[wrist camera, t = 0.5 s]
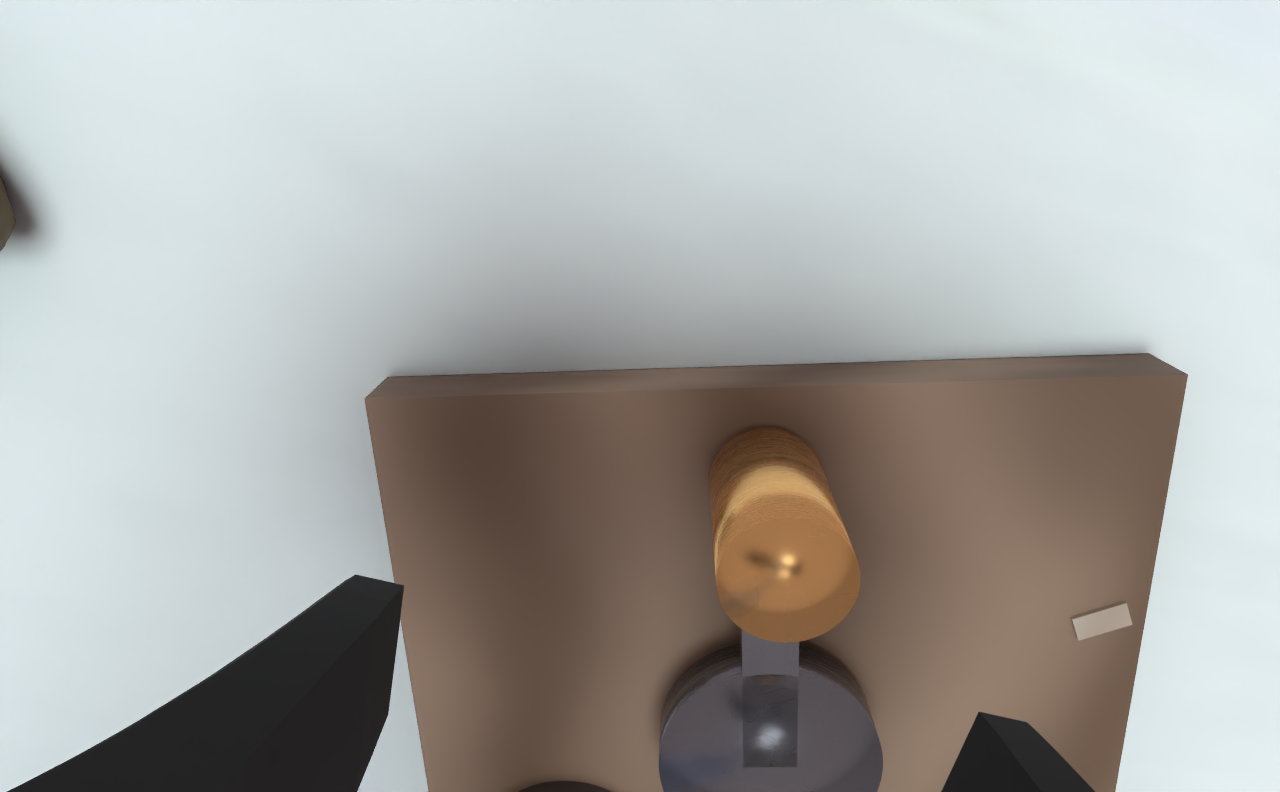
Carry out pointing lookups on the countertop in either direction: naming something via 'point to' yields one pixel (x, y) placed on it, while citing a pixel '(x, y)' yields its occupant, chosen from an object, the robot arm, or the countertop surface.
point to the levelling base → (685, 567)
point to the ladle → (773, 638)
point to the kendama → (5, 216)
